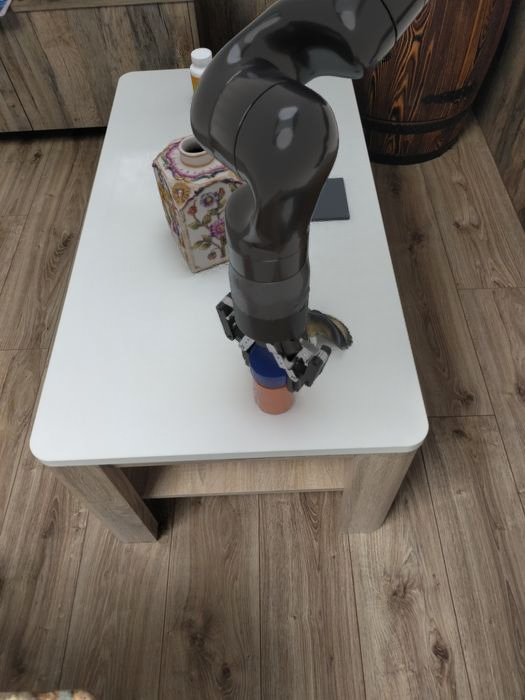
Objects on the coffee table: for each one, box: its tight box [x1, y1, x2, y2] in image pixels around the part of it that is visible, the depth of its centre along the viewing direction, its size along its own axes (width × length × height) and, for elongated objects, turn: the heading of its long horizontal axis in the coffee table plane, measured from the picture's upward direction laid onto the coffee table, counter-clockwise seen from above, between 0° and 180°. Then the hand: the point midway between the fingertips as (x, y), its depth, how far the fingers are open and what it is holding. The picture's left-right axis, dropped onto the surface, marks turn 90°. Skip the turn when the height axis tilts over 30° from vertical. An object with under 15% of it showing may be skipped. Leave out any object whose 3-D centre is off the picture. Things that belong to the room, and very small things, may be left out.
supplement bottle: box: [189, 47, 213, 94], centre depth 100 cm, size 5×5×10 cm
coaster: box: [311, 177, 351, 222], centre depth 86 cm, size 10×10×1 cm
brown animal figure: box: [305, 306, 354, 350], centre depth 69 cm, size 8×7×9 cm
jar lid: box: [249, 344, 297, 388], centre depth 59 cm, size 6×6×2 cm
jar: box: [251, 376, 296, 416], centre depth 63 cm, size 5×5×9 cm
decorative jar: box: [151, 134, 246, 274], centre depth 75 cm, size 12×12×18 cm
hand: (273, 373), depth 62 cm, fingers closed on jar lid, 5 cm apart
